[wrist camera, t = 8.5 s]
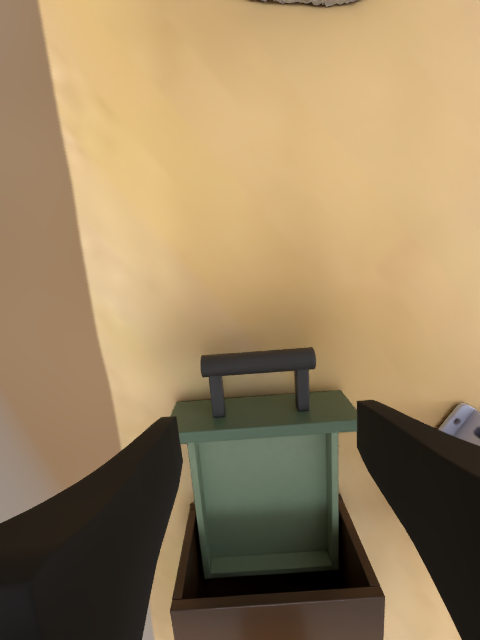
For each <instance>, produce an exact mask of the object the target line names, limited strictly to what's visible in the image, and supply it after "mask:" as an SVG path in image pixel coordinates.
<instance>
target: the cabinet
mask: <svg viewBox="0 0 480 640" xmlns="http://www.w3.org/2000/svg"><path fill="white" fill-rule="evenodd" d="M338 524H339V570H327V571H312V572H297V573H283V574H268V575H253V576H238V577H223V578H209V579H204V572H203V564H202V556H201V548H200V540H199V532H198V524H197V516H196V509H195V504H191V505H190V511H189V515H188V521H187V526H186V531H185V536H184V541H183V546H182V552H181V557H180V562H179V567H178V572H177V577H176V583H175V588H174V593H173V598H172V604H171V609H170V614H171V620H172V626H173V632H174V639H175V640H383V636H384V610H385V596H384V594H383V591H382V589H381V587H380V584H379V582H378V580H377V577H376V575H375V573H374V570H373V568H372V566H371V564H370V561H369V559H368V557H367V555H366V552H365V550H364V548H363V545H362V543H361V541H360V539H359V536H358V534H357V532H356V529H355V527H354V525H353V523H352V520H351V518H350V516H349V513H348V511H347V509H346V507H345V504H344V502H343V500H342V497H341V495H340V494H338Z"/></svg>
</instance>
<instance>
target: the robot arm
mask: <svg viewBox="0 0 480 640" xmlns="http://www.w3.org/2000/svg"><path fill="white" fill-rule="evenodd" d="M455 419H456V421H454V420H455ZM357 448H358V450H359V452H360V455H361V457H362V459H363V461H364V463H365V465H366V467H367V469H368V471H369V473H370V475H371V476H372V478H373V479H374V481H375V483H376V484H377V486H378V487H379V489H380V491H381V492H382V494H383V495H384V497H385V498H386V500H387V501H388V503H389V505H390V506H391V508H392V509H393V511H394V512H395V514H396V516H397V517H398V519H399V520H400V522H401V523H402V525H403V526H404V528H405V530H406V531H407V533H408V535H409V536H410V538H411V540H412V541H413V543H414V545H415V547H416V549H417V551H418V553H419V555H420V556H421V558H422V560H423V562H424V564H425V566H426V568H427V570H428V572H429V574H430V576H431V578H432V580H433V582H434V584H435V586H436V588H437V590H438V592H439V594H440V596H441V598H442V600H443V602H444V604H445V606H446V608H447V610H448V612H449V614H450V616H451V618H452V620H453V622H454V624H455V626H456V628H457V630H458V632H459V635H460V637H461V639H462V640H480V412H479V411H478V410H476V409H474V408H473V407H471V406H469V405H468V404H466V403H460V404H458V405H457V406H456V407H455V409H454V410H453V411H452V412H451V414H450V415H449V416H448V417H447V419H446V420H445V421H444V422H443V423H442V425H441V426H440V427H439V428H438V429H435V428H433V427H431V426H429V425H426V424H424V423H422V422H420V421H418V420H416V419H414V418H411V417H409V416H407V415H405V414H403V413H401V412H399V411H397V410H395V409H393V408H391V407H388V406H386V405H384V404H382V403H379V402H377V401H374V400H365V401H357ZM182 463H183V459H182V452H181V445H180V438H179V431H178V424H177V417H176V416H172V417H161V418H160V419H158V420H157V421H156V422H155V423H153V424H152V425H151V426H150V427H149V428H148V429H147V430H145V431H144V432H143V433H142V434H141V435H140V436H139V437H137V438H136V439H135V440H134V441H133V442H132V443H130V444H129V445H128V446H127V447H126V448H124V449H123V450H122V451H120V452H119V453H118V454H117V455H116V456H114V457H113V458H112V459H110V460H109V461H108V462H107V463H105V464H104V465H102V466H101V467H100V468H98V469H97V470H96V471H94V472H93V473H91V474H89V475H88V476H86V477H85V478H83V479H82V480H80V481H79V482H77V483H76V484H74V485H72V486H71V487H69V488H67V489H65V490H64V491H62V492H60V493H58V494H57V495H55V496H54V497H52V498H50V499H48V500H46V501H45V502H43V503H41V504H39V505H37V506H35V507H33V508H32V509H29V510H27V511H26V512H23V513H21V514H19V515H17V516H15V517H13V518H11V519H9V520H7V521H5V522H2V523H0V640H142V636H143V631H144V626H145V620H146V615H147V610H148V604H149V599H150V594H151V589H152V584H153V579H154V574H155V569H156V564H157V560H158V556H159V553H160V549H161V545H162V542H163V538H164V535H165V532H166V528H167V525H168V522H169V518H170V515H171V511H172V508H173V505H174V501H175V498H176V494H177V491H178V487H179V482H180V476H181V470H182Z"/></svg>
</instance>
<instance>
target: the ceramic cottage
mask: <svg viewBox="0 0 480 640" xmlns="http://www.w3.org/2000/svg"><path fill="white" fill-rule="evenodd" d="M262 1H265V2H266V0H262ZM273 1H278V2H280V3H282V4H284V3H294V2H299V3H306V4H307V3H310V2H312V3H313V5H317V6H318V5H319V4H320V3H322V5H323V4H325V5H326V7H328V6H330V7H331V6H332V5H334V4H336V3H338V4H340V5H341V4H343V3H344V2H345V3H346V4H347V3H349V2H354V1H356V0H273Z"/></svg>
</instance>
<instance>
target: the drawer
mask: <svg viewBox="0 0 480 640" xmlns="http://www.w3.org/2000/svg"><path fill="white" fill-rule="evenodd" d="M315 367H316V356H315V352H314V349H313V348H312V347H310V348H296V349H283V350H269V351H256V352H242V353H228V354H215V355H202V356H201V374H202V377H209V385H210V394H211V400H199V401H185V402H176V405H175V407H174V409H173V411H172V414H171V416H170V417H172V416H176V417H177V424H178V431H179V438H180V444H186V443H187V445H188V453H189V461H190V469H191V477H192V485H193V493H194V501H195V509H196V516H197V524H198V532H199V540H200V548H201V556H202V564H203V572H204V579H209V578H223V577H238V576H253V575H268V574H283V573H297V572H312V571H327V570H339V524H338V433H340V432H354V431H357V410H356V409H355V407H354V406H353V405H352V404H351V402H350V401H349V400H348V399H347V397H346V396H345V395H344V394H343V392H342V391H341V390H337V391H323V392H309V370H310V369H315ZM283 371H294V377H295V394H282V395H268V396H254V397H240V398H227V399H224V391H223V380H222V376H228V375H242V374H255V373H269V372H283Z"/></svg>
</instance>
